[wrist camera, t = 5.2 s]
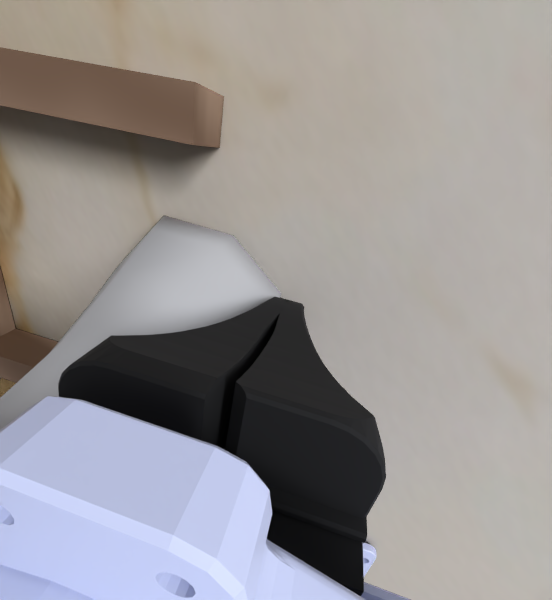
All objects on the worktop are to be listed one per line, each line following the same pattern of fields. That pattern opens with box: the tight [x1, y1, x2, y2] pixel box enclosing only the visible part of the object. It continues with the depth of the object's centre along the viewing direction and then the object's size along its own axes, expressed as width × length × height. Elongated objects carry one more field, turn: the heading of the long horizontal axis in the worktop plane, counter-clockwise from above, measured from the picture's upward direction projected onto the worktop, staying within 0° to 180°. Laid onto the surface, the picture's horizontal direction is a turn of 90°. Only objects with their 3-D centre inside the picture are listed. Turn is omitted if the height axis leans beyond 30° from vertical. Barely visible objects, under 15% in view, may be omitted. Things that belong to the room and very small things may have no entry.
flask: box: [0, 216, 281, 430], centre depth 9 cm, size 7×7×10 cm
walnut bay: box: [0, 48, 224, 383], centre depth 13 cm, size 16×12×2 cm
